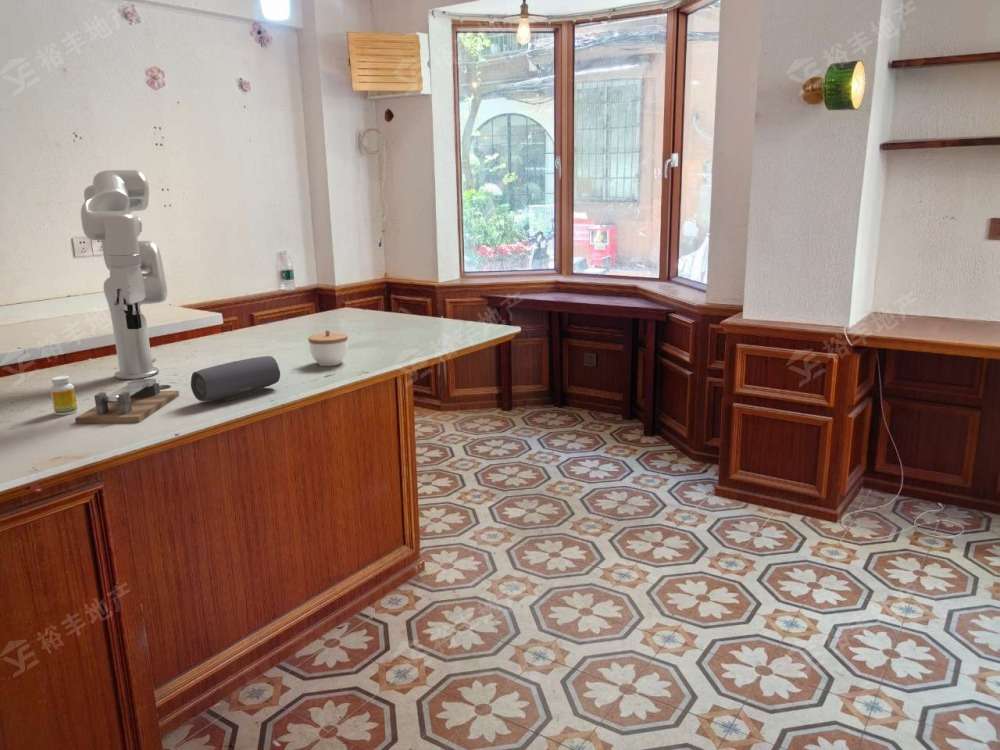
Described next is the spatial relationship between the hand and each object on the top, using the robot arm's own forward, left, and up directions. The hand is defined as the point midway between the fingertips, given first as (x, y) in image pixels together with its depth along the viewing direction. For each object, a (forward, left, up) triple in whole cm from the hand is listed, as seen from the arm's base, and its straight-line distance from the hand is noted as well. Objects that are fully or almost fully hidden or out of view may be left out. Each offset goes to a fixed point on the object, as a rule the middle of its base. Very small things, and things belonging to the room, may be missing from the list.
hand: (134, 328), depth 201 cm
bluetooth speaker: (-1, +26, -20) cm, 33 cm away
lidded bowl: (-39, +43, -20) cm, 62 cm away
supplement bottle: (+11, -16, -20) cm, 28 cm away
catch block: (0, 0, -19) cm, 19 cm away
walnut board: (+9, 0, -20) cm, 22 cm away
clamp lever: (+9, 0, -16) cm, 18 cm away
